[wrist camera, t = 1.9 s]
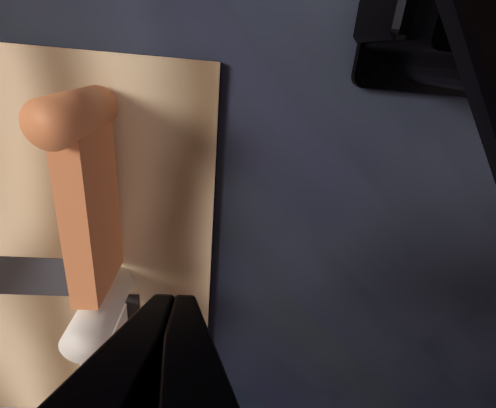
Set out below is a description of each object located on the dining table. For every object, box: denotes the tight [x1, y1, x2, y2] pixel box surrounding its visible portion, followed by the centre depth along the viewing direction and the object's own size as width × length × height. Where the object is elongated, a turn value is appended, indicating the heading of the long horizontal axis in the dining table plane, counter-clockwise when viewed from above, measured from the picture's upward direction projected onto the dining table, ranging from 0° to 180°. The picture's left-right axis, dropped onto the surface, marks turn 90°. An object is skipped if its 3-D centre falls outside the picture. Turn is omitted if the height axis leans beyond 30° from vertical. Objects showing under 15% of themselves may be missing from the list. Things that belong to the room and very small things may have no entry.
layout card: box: [0, 42, 220, 408], centre depth 20 cm, size 17×24×1 cm
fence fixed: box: [58, 267, 133, 366], centre depth 20 cm, size 2×12×6 cm, turn 175°
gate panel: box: [19, 85, 123, 310], centre depth 15 cm, size 2×9×5 cm, turn 175°
